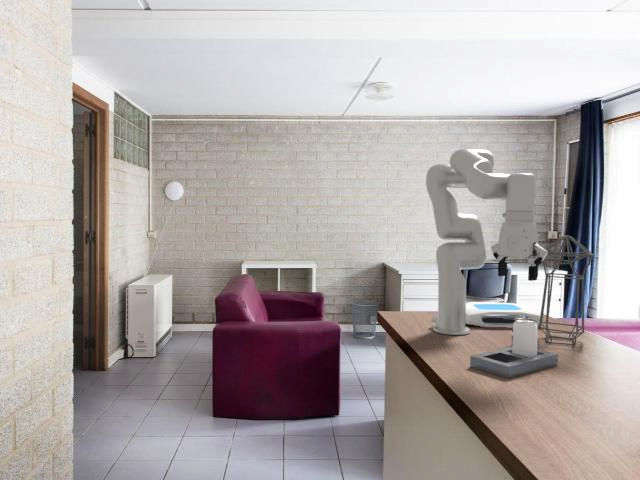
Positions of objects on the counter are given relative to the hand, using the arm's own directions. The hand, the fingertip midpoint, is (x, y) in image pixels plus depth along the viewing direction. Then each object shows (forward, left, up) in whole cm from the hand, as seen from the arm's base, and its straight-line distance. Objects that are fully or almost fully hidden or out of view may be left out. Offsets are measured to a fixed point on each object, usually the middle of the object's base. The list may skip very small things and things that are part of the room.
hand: (517, 277), depth 145 cm
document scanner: (-36, +40, -24) cm, 60 cm away
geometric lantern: (-4, +33, -24) cm, 41 cm away
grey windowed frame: (+4, -5, -24) cm, 24 cm away
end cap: (-5, +13, -24) cm, 28 cm away
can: (+3, 0, -24) cm, 24 cm away
